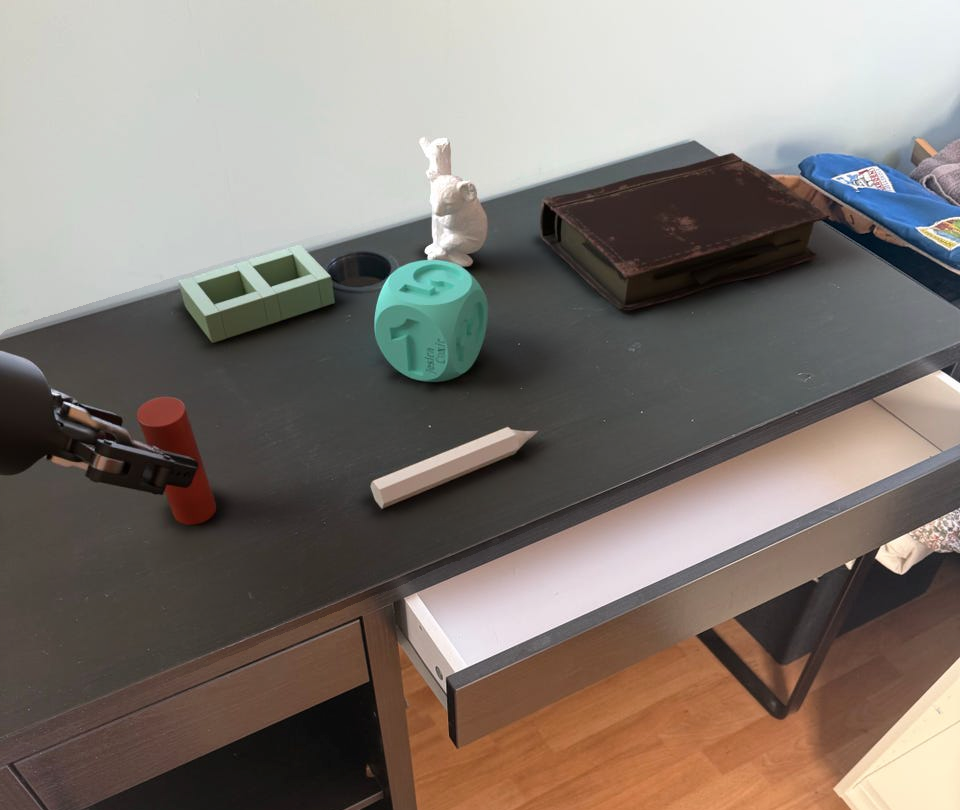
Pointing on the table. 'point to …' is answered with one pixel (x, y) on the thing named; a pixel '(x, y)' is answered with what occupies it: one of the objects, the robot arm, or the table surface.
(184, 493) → the peg
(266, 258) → the two-slot green holder
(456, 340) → the decorative dice
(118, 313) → the table surface
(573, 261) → the diary
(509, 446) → the unpainted wooden pencil
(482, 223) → the koala figurine
